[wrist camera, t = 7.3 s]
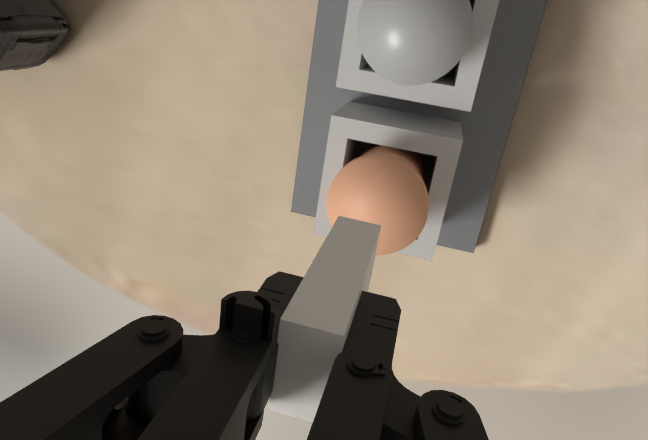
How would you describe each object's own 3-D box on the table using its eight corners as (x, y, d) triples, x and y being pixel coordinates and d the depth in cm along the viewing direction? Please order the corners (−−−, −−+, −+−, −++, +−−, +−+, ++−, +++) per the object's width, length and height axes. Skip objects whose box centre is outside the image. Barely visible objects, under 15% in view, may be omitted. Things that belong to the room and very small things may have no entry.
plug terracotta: (357, 124, 29) (334, 148, 23) (441, 140, 28) (439, 169, 23) (343, 202, 31) (319, 242, 25) (422, 219, 30) (415, 264, 24)
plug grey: (385, -30, 27) (367, -45, 21) (478, -16, 26) (486, -28, 20) (369, 65, 28) (348, 75, 23) (455, 80, 28) (456, 94, 22)
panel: (332, -78, 28) (303, -103, 23) (558, -48, 26) (586, -67, 21) (294, 207, 34) (265, 241, 29) (472, 248, 33) (477, 292, 27)
